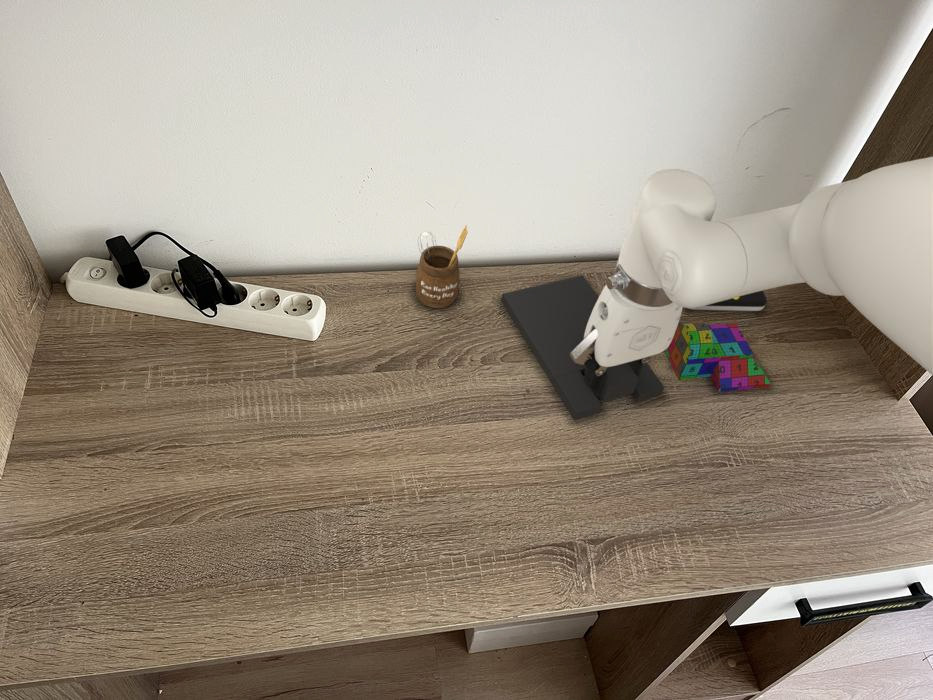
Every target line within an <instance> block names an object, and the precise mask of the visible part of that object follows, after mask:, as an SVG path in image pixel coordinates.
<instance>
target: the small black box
mask: <svg viewBox="0 0 933 700" xmlns="http://www.w3.org/2000/svg"><path fill="white" fill-rule="evenodd" d="M586 370H587V367H586V369H585V372H584V374H585V373H586ZM605 372H606V374H607V378H606V381H605V382H604V385H603V388H602V390H601V393H600V395H597V397H599V400H601V402H602V403H605V402H608V401H612V400H616V399H619V398H621V397H626V396H629V395H632V394H633V392H634V390H635V388H636V385H637V383H638V380H639V378H638V376H637V375H636V373H635V372H634V371H633V370H632V368H631V367H630V365H629V364H628V363H623V364H620V365H616V366H611V367H608V368H607V369H606V371H605Z"/></svg>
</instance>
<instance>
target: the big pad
mask: <svg viewBox="0 0 933 700" xmlns="http://www.w3.org/2000/svg"><path fill="white" fill-rule="evenodd" d="M598 298H599V295H598V293H596V291H595V290H594V289H593V287H592V285H591V284H590V283H589V282H588V280H587V279H586V277H585V276H584V275H583V274H582V275H577V276H573V277H568V278H565V279H561V280H556V281H551V282H547V283H543V284H538V285H534V286H530V287H526V288H521V289H516V290H513V291H508V292H504V293H502V294H501V298H500V299H501V300H500V301H501V303H502V305H503V306H504V308H505V310H506V312H507V313H508V315H509V316H510V318H511V319H512V321H513V323H514V325H515V326H516V328H517V329H518V331H519V333H520V334H521V336H522V338H523V339H524V341H525V342H526V344H527V346H528V348H529V349H530V351H531V352H532V354H533V355H534V357H535V359H536V361H537V362H538V364H539V365H540V367H541V368H542V370H543V372H544V374H545V375H546V377H547V378H548V380H549V382H550V383H551V385H552V387H553V388H554V390H555V393H556V394H557V395H558V397H559V398H560V400H561V402H562V403H563V405H564V407H565V408H566V410H567V411H568V413H569V415H570V416H571V418H572V419H573V421H576V420H580V419H583V418H587V417H590V416H593V415H596V414H600V412H601V410H602V408H603V404H602V403H601V401H600V398H598V395H596V396H595V395H594V393H593V391H592V390H591V388H589V387H588V386H587V385H586V383H585V381H584V376H585V374H584V372H585V369H586V366H585V365H580V364H577V363H575V362H574V361H573V359H572V358H571V356H570V353H571V352H572V351H573V350H574V349H575V348H576V347H577V346H578V345H579V344H580V343H581V342H582V341H583V340H584V334H585V330H586V326H587V323H588V321H589V318H590V315H591V313H592V311H593V308H594V306H595V304H596V302H597V300H598ZM642 365H643V367H642V369H641V372H640V374H639V376H638V378H639V380H638V383H637V385H636V388H635V390H634V392H633V394H631V395H632V397H633V398H634V399H635V400H636V402H640V401H643V400H646V399H649V398H653V397H656V396H659V395H662V393H663V391H664V388H665V386H664V385H663V383H662V382H661V380H660V379H659V378H658V376H657V374H656V373H655V372H654V370H653V369H652V368H651V367H650V365H649V364H648V362H646V363H643V364H642Z"/></svg>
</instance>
